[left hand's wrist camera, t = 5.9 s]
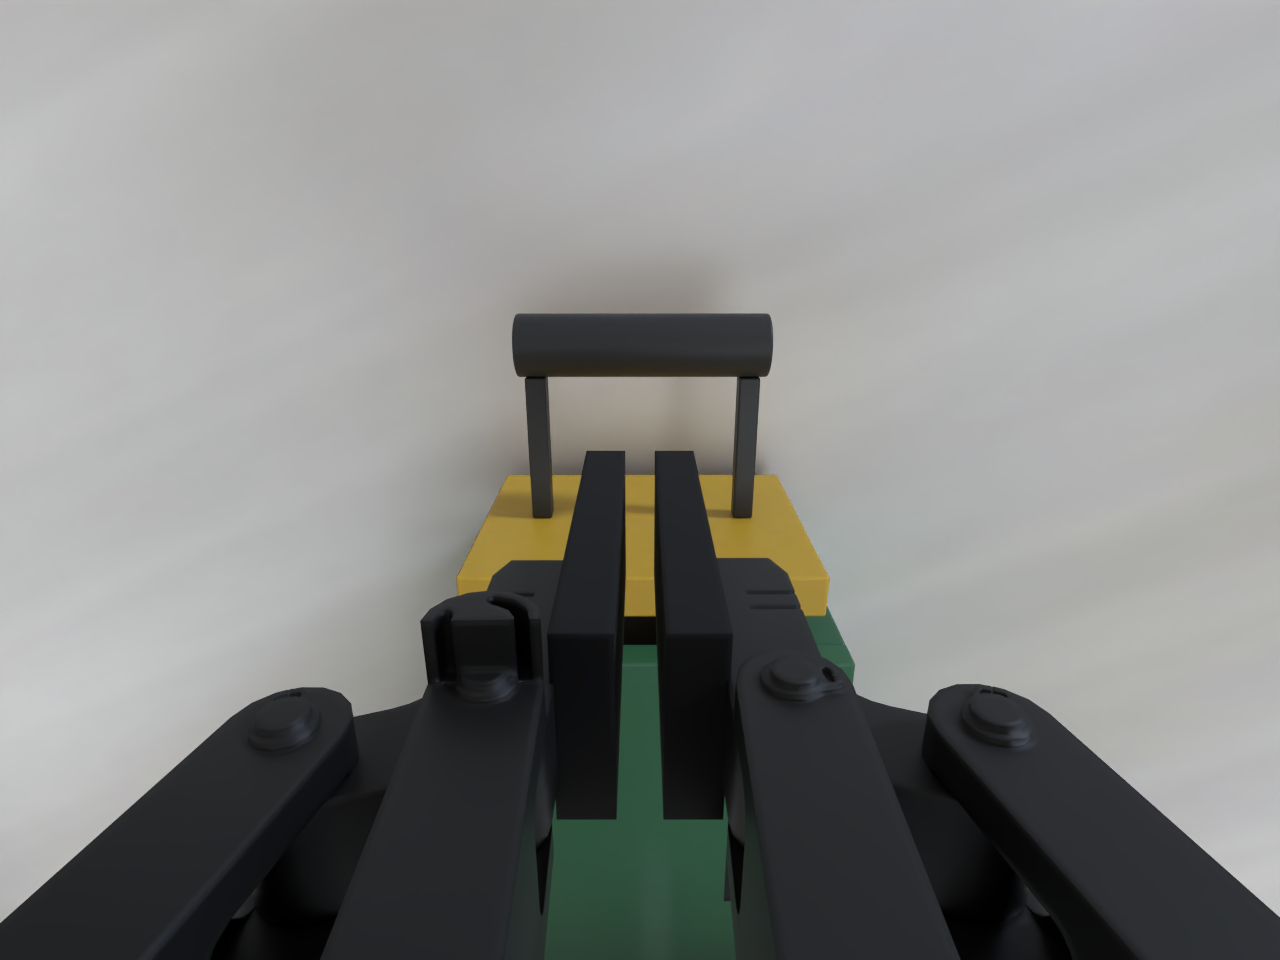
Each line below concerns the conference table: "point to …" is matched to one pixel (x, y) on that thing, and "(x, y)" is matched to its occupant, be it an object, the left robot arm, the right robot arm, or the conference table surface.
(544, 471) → the drawer
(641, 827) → the cabinet
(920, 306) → the conference table surface
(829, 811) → the left robot arm
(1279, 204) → the conference table surface
